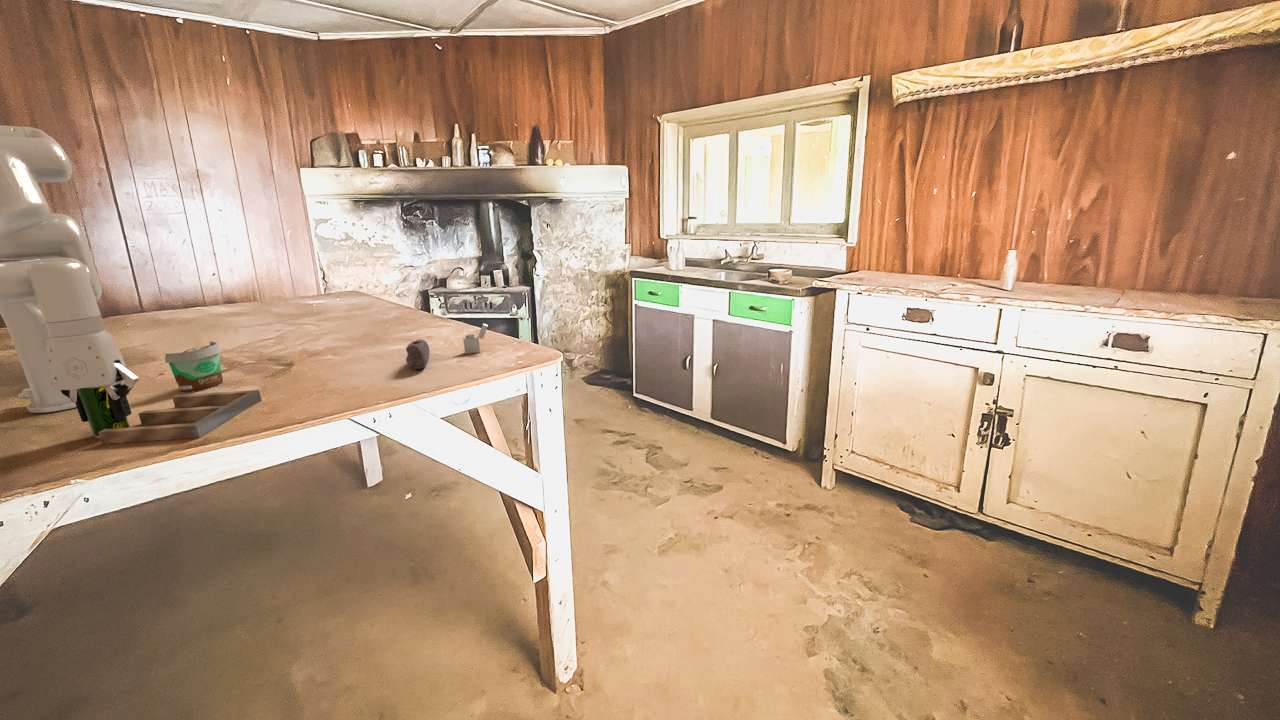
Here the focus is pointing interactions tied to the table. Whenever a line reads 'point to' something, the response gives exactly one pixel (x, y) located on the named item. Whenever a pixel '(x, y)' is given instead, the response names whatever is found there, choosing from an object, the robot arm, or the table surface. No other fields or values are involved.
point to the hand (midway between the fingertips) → (107, 417)
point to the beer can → (100, 410)
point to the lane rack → (185, 417)
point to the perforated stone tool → (417, 354)
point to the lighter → (474, 341)
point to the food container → (196, 368)
